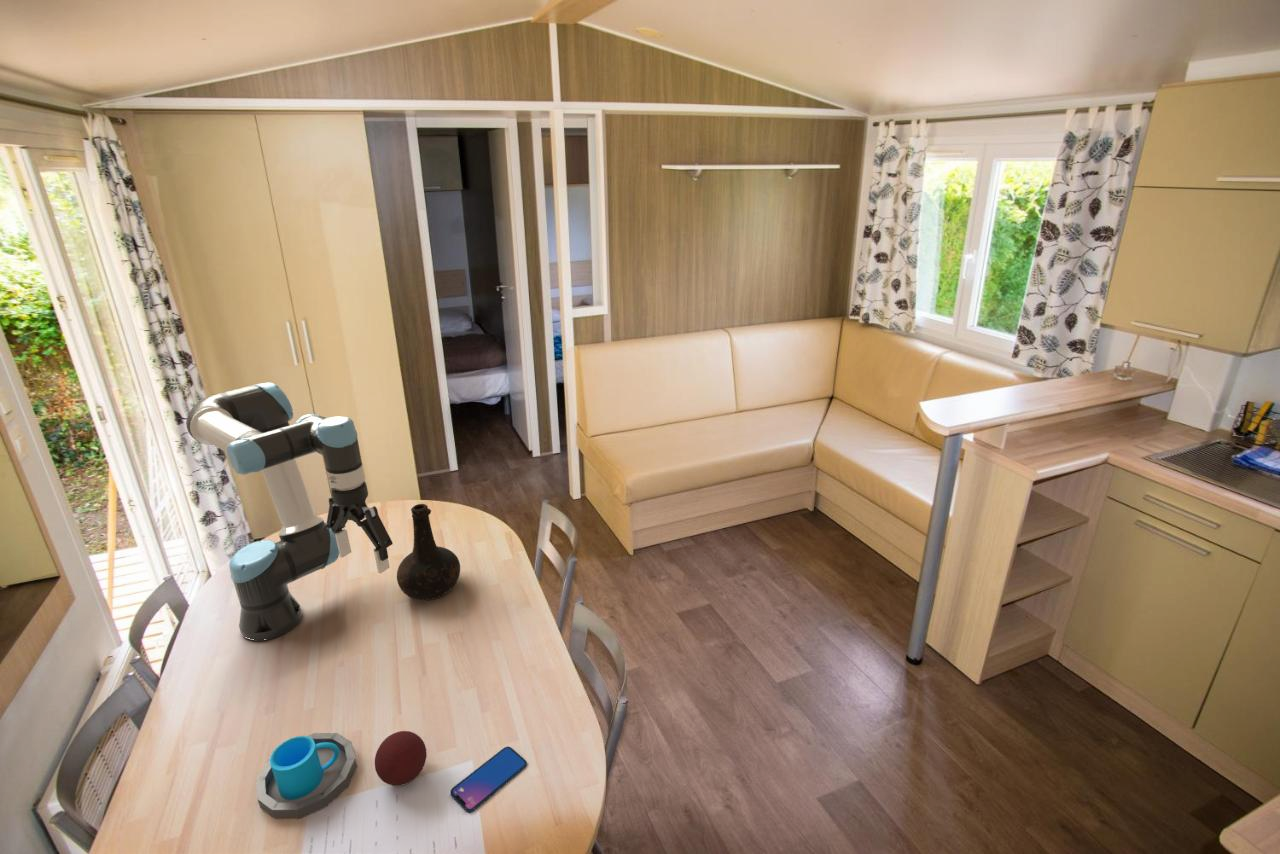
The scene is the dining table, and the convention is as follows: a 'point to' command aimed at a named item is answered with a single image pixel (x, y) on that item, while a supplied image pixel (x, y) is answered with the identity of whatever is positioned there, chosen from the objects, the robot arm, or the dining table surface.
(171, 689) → the dining table surface
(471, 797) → the smartphone
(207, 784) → the dining table surface
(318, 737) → the holder ring
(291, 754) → the mug
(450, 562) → the glass bottle
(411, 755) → the decorative ball
